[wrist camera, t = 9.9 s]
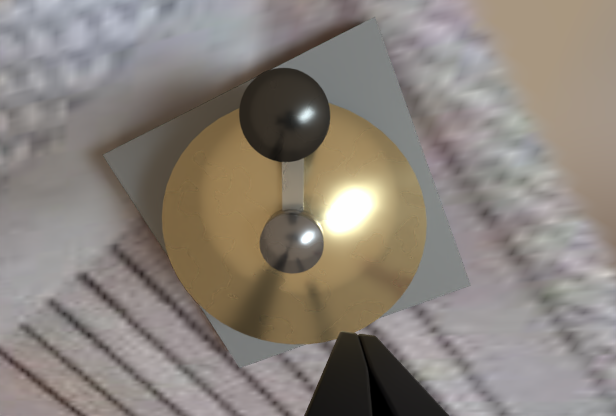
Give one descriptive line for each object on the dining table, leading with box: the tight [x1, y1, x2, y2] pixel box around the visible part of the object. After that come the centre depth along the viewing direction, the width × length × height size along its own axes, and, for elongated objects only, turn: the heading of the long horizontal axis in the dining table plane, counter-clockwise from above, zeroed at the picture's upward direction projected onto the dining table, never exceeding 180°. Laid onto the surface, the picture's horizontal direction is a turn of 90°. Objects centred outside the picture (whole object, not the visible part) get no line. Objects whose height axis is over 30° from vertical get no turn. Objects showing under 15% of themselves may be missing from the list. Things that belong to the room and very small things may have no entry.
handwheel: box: [162, 68, 427, 344], centre depth 16 cm, size 13×13×6 cm
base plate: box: [103, 17, 471, 368], centre depth 19 cm, size 15×15×2 cm
